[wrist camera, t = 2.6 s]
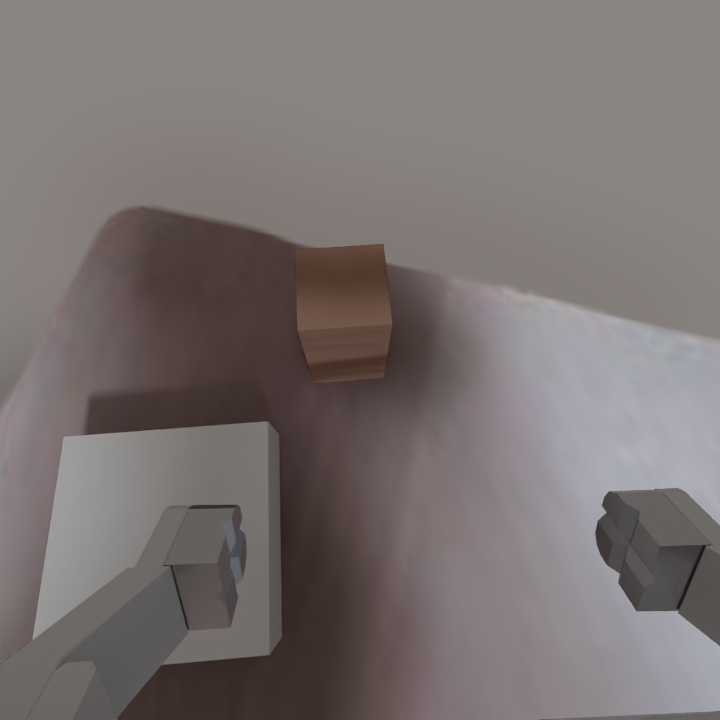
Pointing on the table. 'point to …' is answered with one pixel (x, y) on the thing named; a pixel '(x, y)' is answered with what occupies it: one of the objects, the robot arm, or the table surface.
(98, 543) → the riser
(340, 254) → the terracotta block
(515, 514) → the table surface
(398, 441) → the table surface
